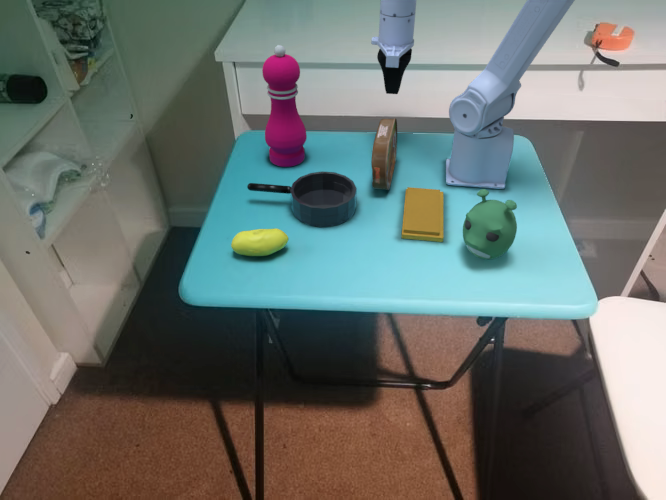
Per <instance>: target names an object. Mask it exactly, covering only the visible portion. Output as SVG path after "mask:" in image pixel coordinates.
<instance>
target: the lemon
mask: <svg viewBox="0 0 666 500" xmlns="http://www.w3.org/2000/svg"><path fill="white" fill-rule="evenodd" d="M289 239H290V238H289V236H288V234H287V233H286V232H284V230H282V229H280V228H258V229H250V230H242V231H239V232H237V233H236V234H235V235H234V236H233V238H232V240H231V243H230V246H231V249H232V251H234V253H236V254H238V255H241V256H247V257H267V256H270V255H272V254H274V253H277V252H279V251H281V250H282V249H284V247H286V246H287V244H288V243H289Z"/></svg>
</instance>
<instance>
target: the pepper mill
mask: <svg viewBox="0 0 666 500" xmlns="http://www.w3.org/2000/svg"><path fill="white" fill-rule="evenodd" d="M273 53H274V54H272V55H270V56H269V57H268V58H266V59H265V61H264V62H263V65H262V69H261V70H262V78H263V80H264V82H266V84H267V85H266V89H267V93H266V94H267V96H268V97H269V98H270V114H269V118H268V120H267V123H266V126H265V130H264V141H265V143H266V145H267V146H268V147H269V150H268V154H269V160H270V163H272V164H273V165H275V166H278V167H283V168H290V167H296V166H298V165H300V164H301V163H303V162H304V160H305V157H306V156H305V152H306V151H305V147H304V145H305V143H306V141H307V138H308V136H307V129H306V126H305V124H304V122H303V120H302V118H301V116H300V113H299V112H298V111H299V110H298V108H297V101H296V97H297V96H298V94H299V89H298V88H299V86H298V84H297V83H298V80H299V79H300V78H301V77H300V76H301V69H300V65H299V63H298V61H297V60H296V59H295V58H294V57H293V56H292V55H290V54H287V53H286V48H285V46H283V45H281V44H277V45H276V46H275V47H274V49H273Z"/></svg>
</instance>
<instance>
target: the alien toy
mask: <svg viewBox="0 0 666 500" xmlns="http://www.w3.org/2000/svg"><path fill="white" fill-rule="evenodd" d="M489 194H490V191H489V190H488V189H486V188H481V189H479V190H478V191H477V193H476V195H477V196H478V197H480V198H481V201H480V202H478V203H476V204H475V205H473V207H472V208H471V209H470V210H469V211H468V212H466V214H465V219H464V222H463V225H462V238H463V242H464V245H465V247H466V248H467V250H468V251H469V252H470V254H472V255H474V257H477V258H479V259H482V260H493V259H497V258H499V257H502V256H503V255H505V254H506V253H507V252H508V251H509V250H510V248H511V247H512V245H513V244H514V242H515V239H516V235H517V232H518V224H517V223H518V222H517V218H516V216H515V212H514V211H515V210H516V209H518V205H517V202H516V201H514V200H512V199H507V200H506V201H505V202H503V201H501V200H498V199H486V197H487V196H488V195H489Z"/></svg>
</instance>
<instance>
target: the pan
mask: <svg viewBox="0 0 666 500" xmlns="http://www.w3.org/2000/svg"><path fill="white" fill-rule="evenodd" d="M290 187H291V189H290V207H291V212H292V214H293V216H294V217H295V218H296V219H297V220H298V221H300V222H301V223H303V224H306V225H309V226H311V227H317V228H318V227H319V228H329V227H334V226H339V225H342V224H344V223H346V222H348V221H349V220H350V219H351V218H352V217H353V216H354V215H355V212H356V209H357V190H358V189H357V186H356V184H355V182H354V181H353V180H352V179H351V178H350V177H348V176H346V175H345V174H341V173H338V172H335V171H316V172H310V173H307V174H304V175H302V176H300V177H299V178H297V179H296V180H295V181H294V182H292V185H291V186H290Z"/></svg>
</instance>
